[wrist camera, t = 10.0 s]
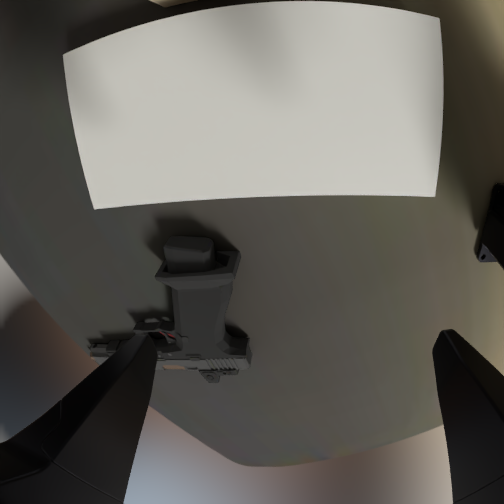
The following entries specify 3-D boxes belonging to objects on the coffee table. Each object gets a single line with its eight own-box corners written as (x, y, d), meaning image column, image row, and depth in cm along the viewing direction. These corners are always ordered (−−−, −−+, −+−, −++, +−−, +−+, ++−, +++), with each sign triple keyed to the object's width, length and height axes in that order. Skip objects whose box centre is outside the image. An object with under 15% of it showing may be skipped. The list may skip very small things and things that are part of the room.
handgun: (23, 279, 23) (99, 379, 30) (219, 242, 18) (275, 385, 25) (41, 261, 26) (110, 359, 33) (229, 217, 20) (278, 358, 28)
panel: (416, 24, 12) (439, 18, 9) (415, 178, 17) (434, 196, 14) (90, 53, 14) (62, 54, 12) (116, 190, 20) (94, 209, 17)
